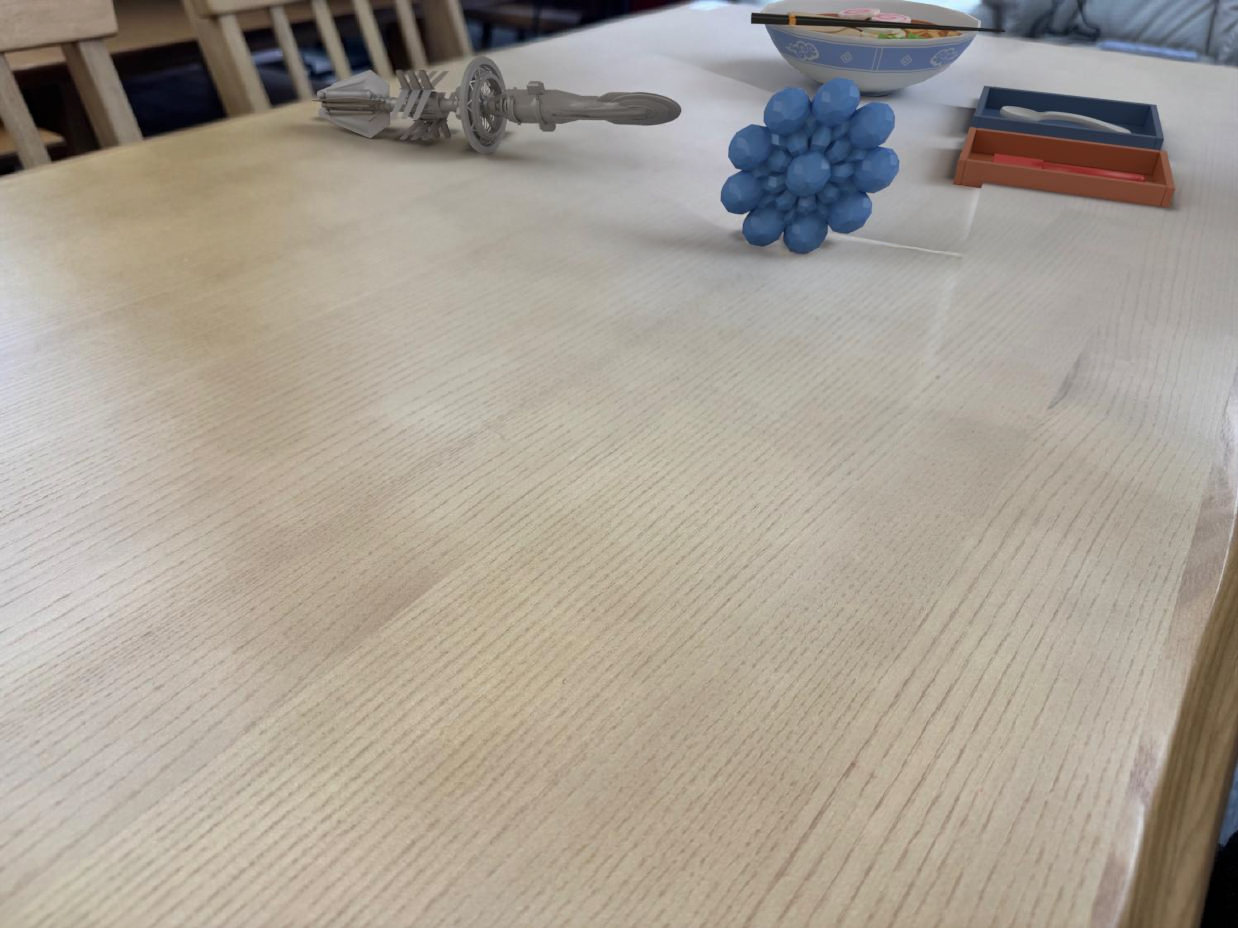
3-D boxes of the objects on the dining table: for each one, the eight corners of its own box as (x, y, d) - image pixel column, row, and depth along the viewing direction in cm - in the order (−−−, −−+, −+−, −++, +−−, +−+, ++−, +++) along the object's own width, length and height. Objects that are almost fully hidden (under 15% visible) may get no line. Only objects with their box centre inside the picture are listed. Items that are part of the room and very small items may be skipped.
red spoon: (1142, 184, 83) (1146, 170, 82) (1143, 196, 81) (1148, 181, 80) (991, 164, 86) (995, 151, 86) (989, 175, 84) (992, 161, 83)
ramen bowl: (957, 69, 117) (972, -7, 112) (997, 124, 98) (1018, 36, 93) (744, 58, 119) (750, -16, 114) (743, 111, 100) (751, 24, 95)
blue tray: (1148, 129, 98) (1156, 104, 96) (1155, 166, 88) (1164, 139, 87) (978, 109, 102) (984, 85, 101) (967, 142, 93) (973, 116, 92)
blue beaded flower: (879, 238, 73) (911, 67, 66) (882, 275, 67) (917, 92, 61) (722, 224, 74) (736, 55, 68) (712, 258, 69) (727, 79, 62)
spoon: (998, 117, 98) (1005, 96, 97) (1125, 144, 95) (1133, 123, 93) (994, 125, 96) (1001, 104, 95) (1124, 152, 92) (1133, 131, 91)
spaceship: (658, 96, 74) (687, 34, 78) (276, 92, 86) (318, 38, 90) (675, 181, 80) (701, 119, 84) (317, 167, 92) (354, 113, 96)
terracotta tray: (1157, 179, 85) (1167, 151, 84) (1164, 218, 78) (1175, 188, 76) (964, 153, 90) (969, 126, 89) (952, 188, 82) (958, 159, 81)
